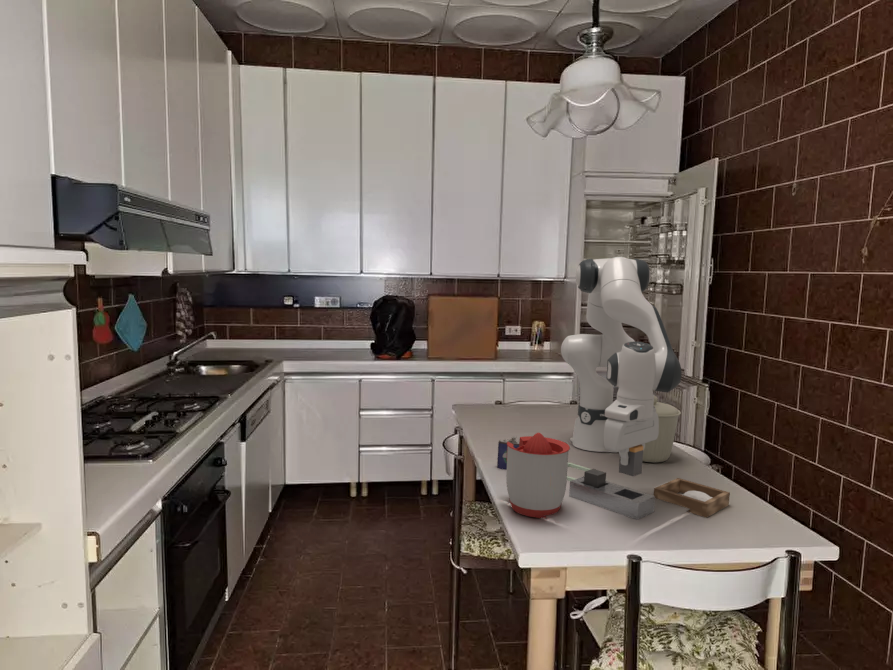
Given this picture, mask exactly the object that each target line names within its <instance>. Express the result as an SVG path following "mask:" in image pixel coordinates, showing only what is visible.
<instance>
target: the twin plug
mask: <svg viewBox="0 0 893 670" xmlns="http://www.w3.org/2000/svg"><path fill="white" fill-rule="evenodd" d="M590 469H591V470H588V471H583V472H584V475H583V476H584V484H586V485H589V486H592V487H595V488H600V487H602V486H605V484H606V481H607V480H606V479H607V471H602V470H599V469H596V468H590Z"/></svg>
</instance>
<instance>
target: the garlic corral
mask: <svg viewBox="0 0 893 670" xmlns="http://www.w3.org/2000/svg"><path fill="white" fill-rule="evenodd" d="M687 491H700V492H703V493H706V494H707V495H709V496H710V497H713V498H711V499H709V500H707V501H705V502H704V501H701V500H697V499H694V498H691V497H687V496H684V495H683V494H684V493H685V492H687ZM681 493H682V494H681ZM730 495H731V492H730V491H727V490H723V489H719V488H715V487H711V486H708V485H704V484H700V483H697V482H694V481H691V480H686V479H684V478H680V477H676V478H674V479H672V480H670V481H668V482H665V483H663V484H661V485H658V486H655V487H653V496H655V499H657V500H661V501H664V502H667V503H670V504H673V505H675V506H679V507H682V508H686V509H687V510H686V512H687V513H690V514H693V515H697V516H699V517H702V518H705V519H706V518H709V517H710V516H712V515H714V514H716V513H717V512H719V511H721V510H723V509H725V508H726V507H728V506H729V505H730Z"/></svg>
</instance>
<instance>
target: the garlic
mask: <svg viewBox="0 0 893 670" xmlns="http://www.w3.org/2000/svg"><path fill="white" fill-rule="evenodd" d="M682 495H684V496H687V497H691V498H694V499H697V500H701V501H704V502H705V501H707V500H709V499H711V498H713V497H710V496H709V495H707V494H706V493H703V492H700V491H687V492H685V493H682Z"/></svg>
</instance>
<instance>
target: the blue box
mask: <svg viewBox="0 0 893 670" xmlns="http://www.w3.org/2000/svg"><path fill="white" fill-rule="evenodd" d="M507 442H510V443H512V444H513V447H514V448H518V447H519V441H517V435H516V436H515V435H511V439H507V438H504V439H499V440H498V443H497V445H498V447H497V462H496V468H497V469H500V470H506V471H507V461H506V460H507V458H503V454H504V453H507Z"/></svg>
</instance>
